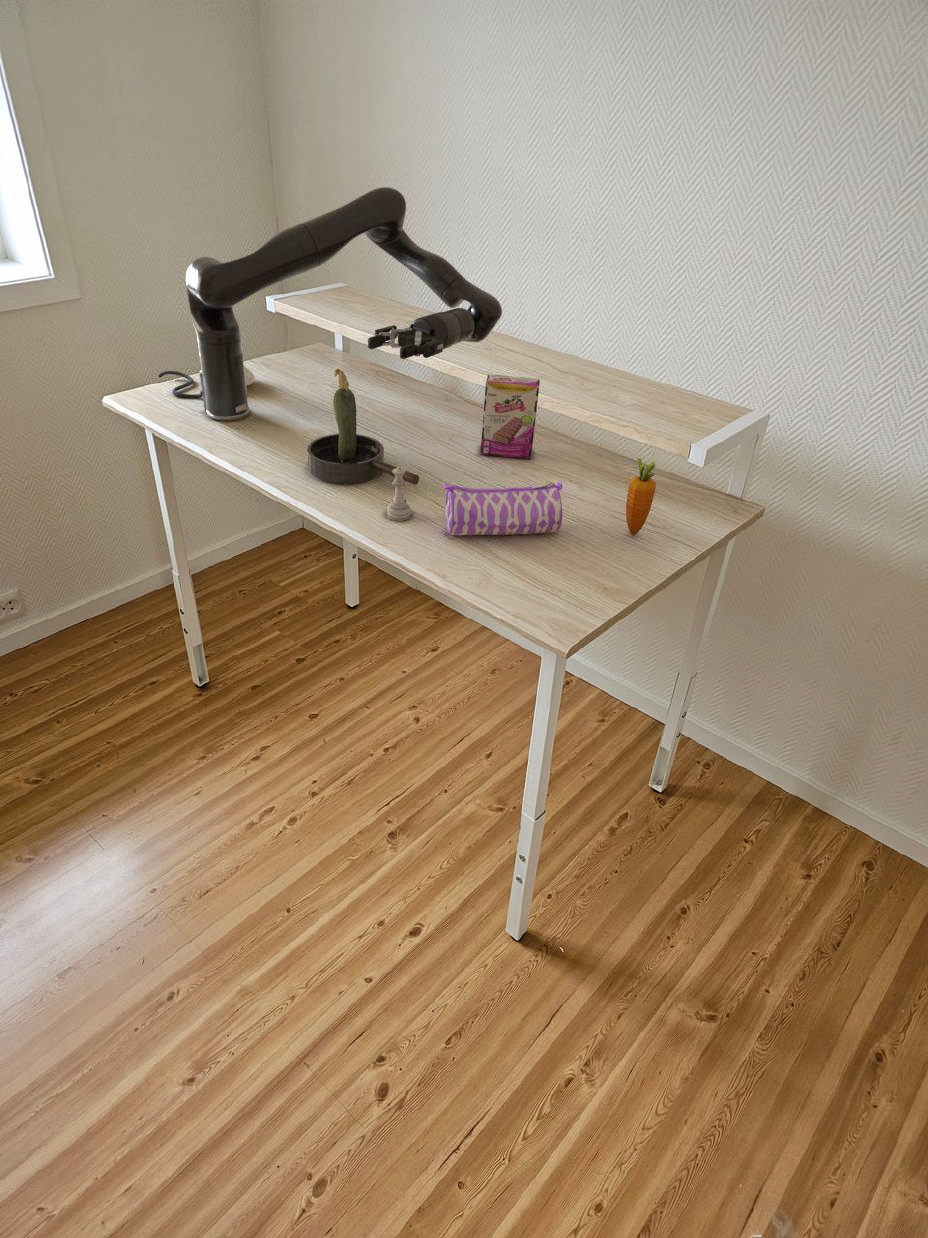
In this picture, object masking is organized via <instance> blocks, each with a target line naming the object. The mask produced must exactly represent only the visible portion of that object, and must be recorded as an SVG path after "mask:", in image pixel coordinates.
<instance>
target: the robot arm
mask: <svg viewBox="0 0 928 1238" xmlns="http://www.w3.org/2000/svg"><path fill="white" fill-rule="evenodd" d="M406 212H407V201H406V198H405V196H404V195H403V193H402V192H400V191H399V190H398V189H396V188H393V187H390V186H389V187H388V186H382V187H377V188H374V189H371V190H370V191H368V192H366V193H364V194H362V195H360V196H359V197H357V198H355V199H353V200H351V201H349V202H348V203H346V204H344V205H342V206H340V207H338V208H335V209H333V210H331V211H328V212H326V213H323V214H321V215H319V216H317V217H313V218H311V219H309V220H306V221H303V222H300V223H297V224H295V225H293V226H290V227H288V228H285V229H283V230H281V231H280V232H277V233H276V234H275V235H273V236H271V238H270V239H268V240H267V241H266V242H265V243H264V244H263V245H261V246H260V247H259V248H258V249H257V250H255V251H254V252H252V253H249V254H248V255H246V256H243V257H240V258H237V259H234V260H230V261H225V262H222V261H219V260H218V259H216V258H214V257H210V256H201V257H198V258H196V259H194V260H193V261H192V262H190V264H189V265H188V268H187V270H186V274H185V285H186V294H187V299H188V306H189V311H190V316H191V321H192V324H193V327H194V330H195V333H196V340H197V347H198V354H199V363H200V368H201V370H200V371H199V378H200V386H201V387H200V388H201V390H200V391H199V393H197V394H192V393H191V394H189V393H181V392H178V391H180V390H182V389H185V388H188V387H190V386H191V385H193V384H194V382H195V380H194V379H193V377H191V376H189V375H188V374H186V373H183V372H180V371H177V370H164V371H161V372H159V374H158V375H157V378H162V377H164V376H166V375H175V376H178V377H182V378H184V379H186V380H188V382H185V383H183V384H180V385H177V386H175V387H174V388H173V389H172V391H171V393H172V394H173V395H174V396H176V397H179V398H185V399H200V398H202V402H203V407H204V412H205V413H206V415H207V417H208V418H210V419H212V420H215V421H222V422H229V421H237V420H241V419H244V418H246V417H248V416H249V414H250V407H249V400H248V390H247V386H246V380H245V371H244V366H245V363H244V353H243V346H242V345H243V344H242V335H241V327H240V325H239V322H238V320H237V318H236V315H235V312H234V309H233V307H234V306H235V305H237V304H239V303H241V302H242V301H244V300H246V299H248V298H250V297H251V296H253V295H255V294H257V293H259V292H260V291H262V290H264V289H266V288H268V287H271V286H274V285H277V284H279V283H282V282H284V281H287V280H289V279H292V278H294V277H296V276H300V275H303V274H305V273H308V272H310V271H312V270H314V269H317V268H319V267H321V266H323V265H324V264H326V263H328V262H329V261H330V260H332V259H333V258H334V257H336V255H338V253H340V252H341V251H342V250H343V249H344V248H345V247H346V246H347V245H349V243H350V242H352V241H353V240H354V239H356V238H357V237H359V236H361V235H363V234H364V235H365V236H366V237H367V238H368V239H369V240H370V241H371V242H372V243H373V244H374V245H376V246H377V247H378V248H379V249H381V250H382V251H384V252H385V253H386V254H388V255H389V256H390V257H391V258H393V259H394V260H396V261H397V262H398V263H399V264H401V265H402V266H404V267H405V268H406V269H407V270H409V271H410V272H411V273H413V274H414V275H415V276H416V277H417V278H418V279H420V280H421V281H422V282H423V283H424V284H425V285H426V286H427V287H428V288H429V289H430V290H431V291H432V292H433V293H434V294H435V295H436V296H437V298H439V299H440V300H441V301H442V303H444V304H445V305H446V306H447V307H448V308H449V309H450V310H445V311H438V312H435V313H430V314H428V315H424V316H420V317H418V318H415V319H414V320H413V321H412V322H411V324H410V325H409V327H403V328H398V327H397V325H389V326H385V327H382V328H377V329H375V330H374V335H373V336H369V337H368V338H367V348H368V349H370V350H374V349H377V348H380V347H385V346H390V347H391V348H392V349H397V348H398V349H399V358H400V359H402V360H406V359H409V358H411V357H421V356H422V357H423V358H425V359H428V358H431V357H434V356H436V355H438V354H441V353H443V350H446V349H448V348H450V347H453V346H454V345H457V344H460V343H462V342H465V343H475V344H476V343H481V342H482V341H484V340H485V339H487V337H488V336H489V335H490V333H491V332H492V331H493V329H494V327H495V326H496V325H497V323H498V322H499V321H500V319H501V317H502V314H503V308H502V305H501V303H500V301H499V300H498V299H497V298H496V297H495V296H494V295H492V294H490V293H489V292H487V291H485V290H483V289H482V288H480V287H479V286H476V285H475V284H473V283H472V282H470V281H469V280H467V279H466V278H465V277H464V276H463V274H461V272H459V271H458V269H456V268H455V266H453V264H452V263H451V262H449V261H448V260H446V258H444V257H442V256H440V255H438V254H436V253H435V252H431V251H428V250H426V249H424V248H423V247H421V246H419V245H418V244H417V243H415V242H414V241H413V240H412V238H410V236H409V235H408V233H407V232H406V230H405V229H404V228H403V227H404V225H405V224H404V223H405V219H406V215H407V214H406ZM463 302H468V304H469V307H468V309H467V308H463V307H459V306H460V305H461V304H462V303H463ZM396 339H397V343H396Z"/></svg>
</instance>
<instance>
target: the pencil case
mask: <svg viewBox="0 0 928 1238" xmlns="http://www.w3.org/2000/svg"><path fill="white" fill-rule="evenodd" d="M442 485H443V488H444V490H446V495H445V504H444V522H445V527H446V531H447V533H448V534H449V535H450V536H465V535H466V536H467V535H468V536H473V535H480V536H484V535H485V536H487V535H490V536H498V535H499V536H500V535H502V536H504V535H506V536H507V535H532V534H547V533H548V534H551V533H557V532H559V531H560V529H561V527H562V523H563V504H562V496H561V492H560V491H561V490H563V483H562V481H561V480H558V481H557V483H556V484H555V483H552V482H547V483H546V484H545V483H544V484H537V485H533V486H523V487H522V486H520V487H519V486H518V487H517V486H515V487H507V488H473V487H464V486H458V485H456V484H452V485H451V484H448V483H447V482H442Z"/></svg>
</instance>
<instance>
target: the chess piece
mask: <svg viewBox="0 0 928 1238" xmlns="http://www.w3.org/2000/svg"><path fill="white" fill-rule="evenodd" d="M396 467H397V468H395V469H393V471H392V472H393V473H394V475H395V477H394V480H393V481H392V485H393V486H394V487H395V489H394V490H395V491H394V497H393V499H391V501H390V503H389V505H388V506H387V508H386V509H387V511H386V516H387V518H388V519H390V520H392V521H397V522H402V521H406V520H408V519H410V518H411V515H412V513H411V506H410V505H409V504H408V503H407V500H406V499H405V497H404V489H403V487H404V486H406V483H407V482H406V481H404V480H403V478H402V477H403V475H404V474H405V472H406V471H407V470H406V469H405V468H403V467H401V465H398V466H396ZM405 470H406V471H405Z"/></svg>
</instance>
